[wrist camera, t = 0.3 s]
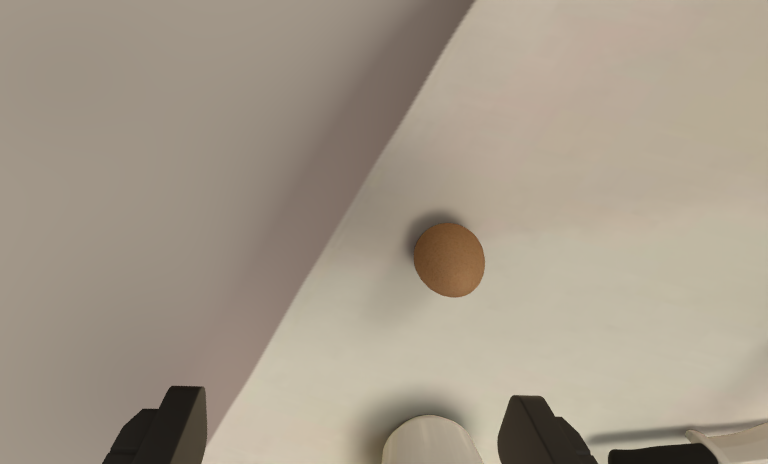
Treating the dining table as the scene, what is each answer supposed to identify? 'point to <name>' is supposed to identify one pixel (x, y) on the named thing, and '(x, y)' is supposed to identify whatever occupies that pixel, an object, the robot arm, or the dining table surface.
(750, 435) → the knife
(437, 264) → the egg
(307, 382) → the dining table surface
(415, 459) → the mug
